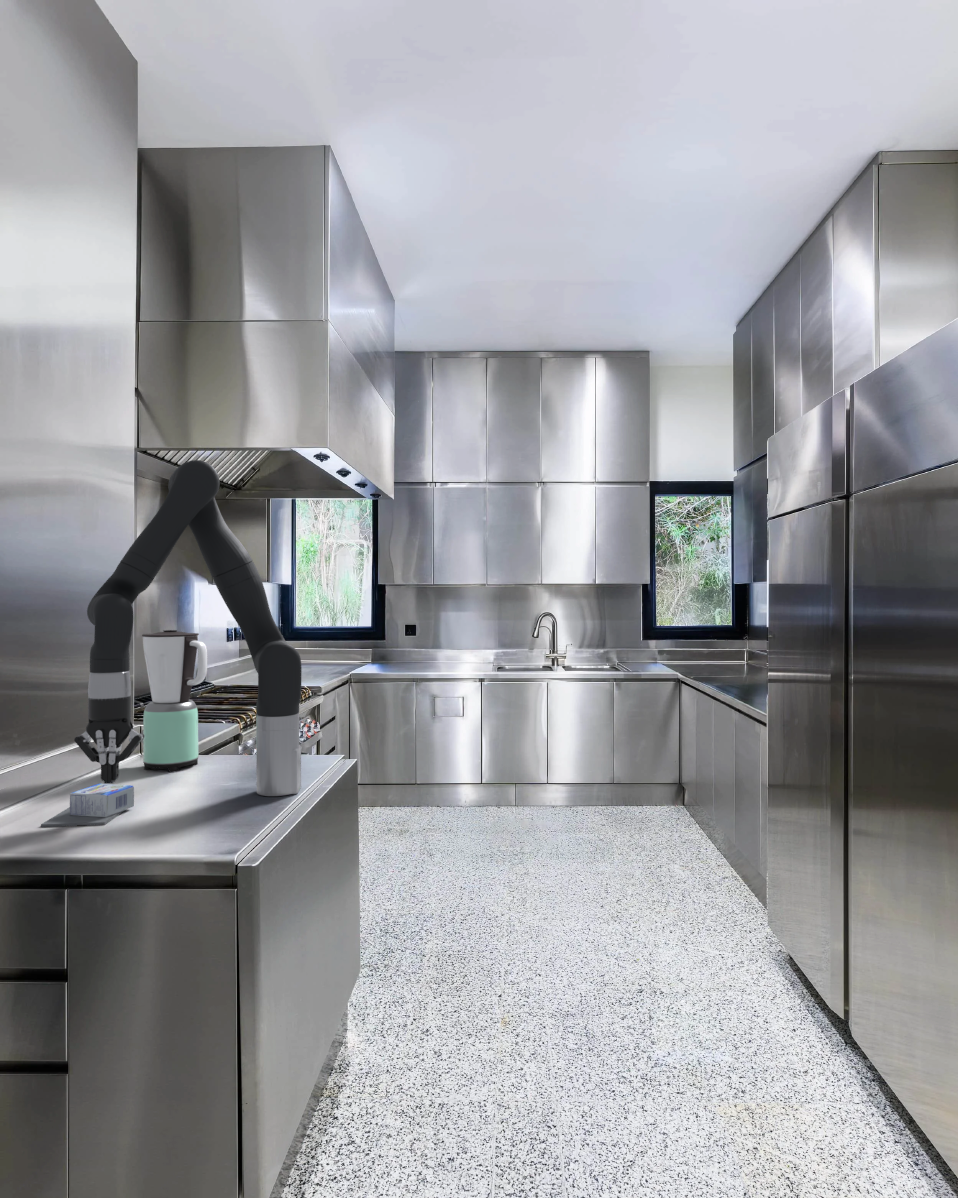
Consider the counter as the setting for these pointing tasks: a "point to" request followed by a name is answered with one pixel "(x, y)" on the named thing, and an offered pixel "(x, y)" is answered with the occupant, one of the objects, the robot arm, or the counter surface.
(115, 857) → the counter surface
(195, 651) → the blender
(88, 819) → the mat
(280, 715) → the robot arm
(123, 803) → the medicine box
